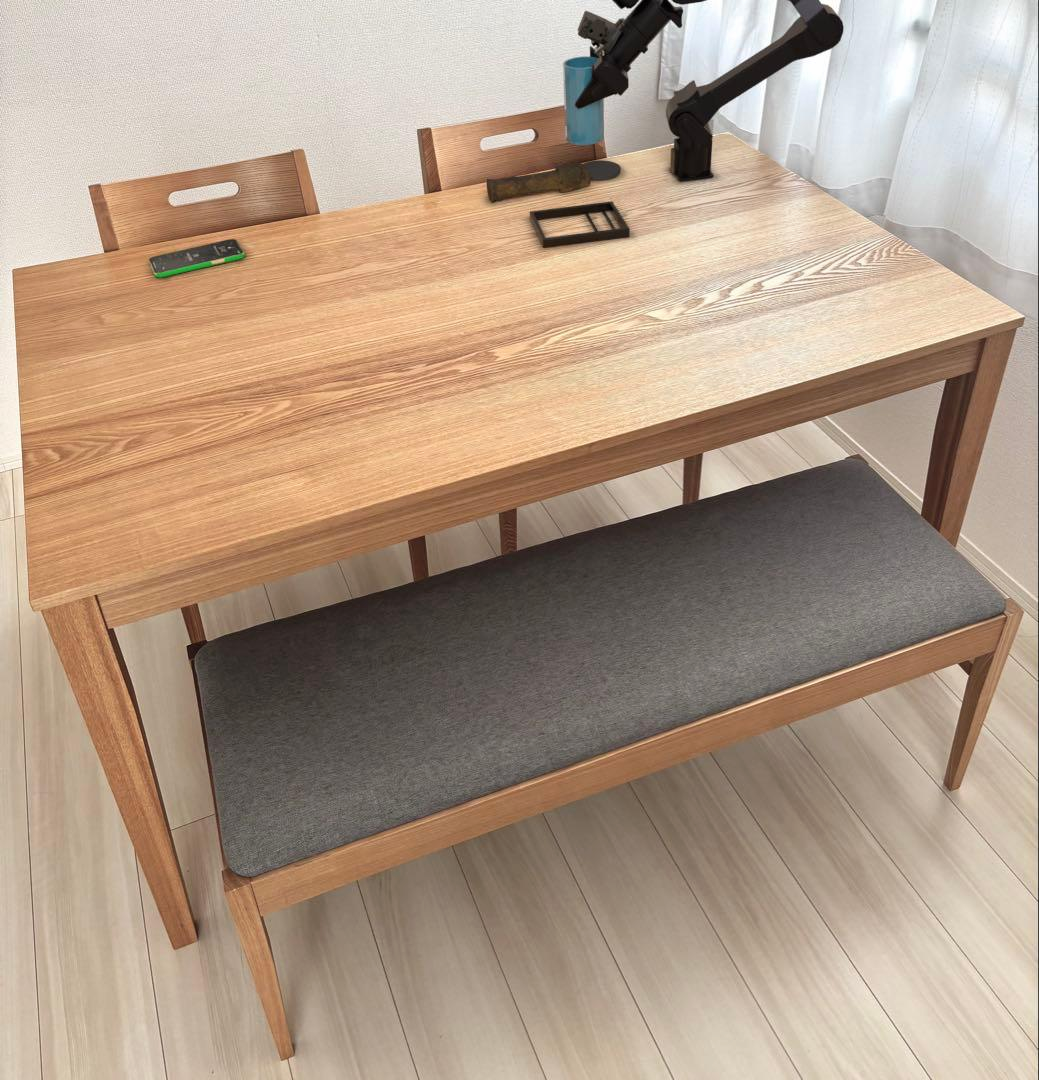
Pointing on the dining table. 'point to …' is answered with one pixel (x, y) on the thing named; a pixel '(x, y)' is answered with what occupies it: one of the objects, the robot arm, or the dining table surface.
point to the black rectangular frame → (581, 237)
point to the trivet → (602, 170)
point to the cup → (588, 120)
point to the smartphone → (196, 258)
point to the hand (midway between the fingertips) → (576, 99)
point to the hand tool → (540, 182)
